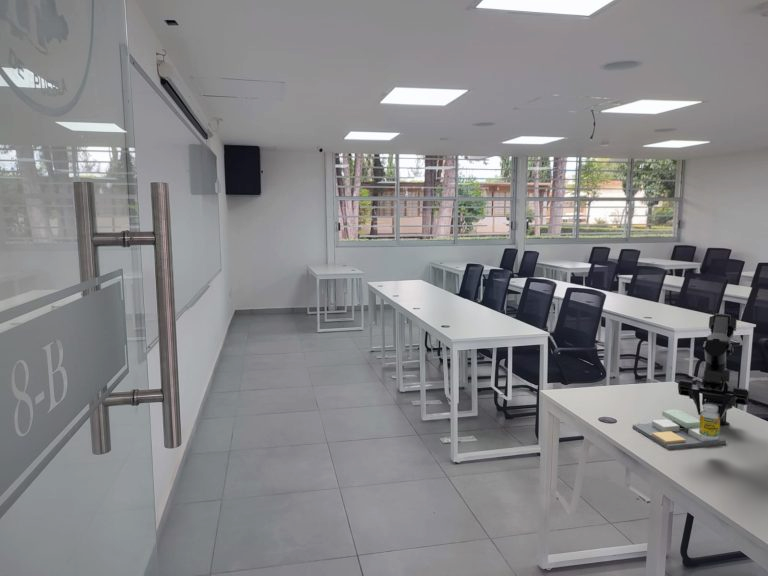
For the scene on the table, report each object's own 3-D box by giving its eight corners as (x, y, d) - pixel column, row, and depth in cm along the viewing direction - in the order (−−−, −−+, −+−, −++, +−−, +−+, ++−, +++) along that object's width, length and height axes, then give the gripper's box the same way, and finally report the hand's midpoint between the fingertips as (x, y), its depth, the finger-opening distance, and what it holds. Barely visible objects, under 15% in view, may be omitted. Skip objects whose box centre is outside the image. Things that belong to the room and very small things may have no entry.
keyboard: (685, 423, 188) (686, 415, 188) (725, 443, 171) (726, 435, 170) (632, 427, 185) (632, 419, 185) (667, 449, 167) (668, 440, 167)
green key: (677, 417, 190) (677, 409, 189) (702, 430, 178) (702, 421, 178) (662, 418, 189) (662, 410, 188) (686, 431, 177) (686, 423, 177)
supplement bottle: (716, 433, 165) (718, 403, 164) (721, 439, 160) (723, 409, 159) (696, 431, 167) (698, 402, 165) (701, 437, 162) (703, 408, 160)
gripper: (680, 355, 169) (673, 398, 161) (750, 363, 158) (747, 410, 151) (682, 373, 176) (675, 414, 169) (749, 382, 165) (746, 427, 158)
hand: (709, 416), depth 161 cm, fingers closed on supplement bottle, 5 cm apart
